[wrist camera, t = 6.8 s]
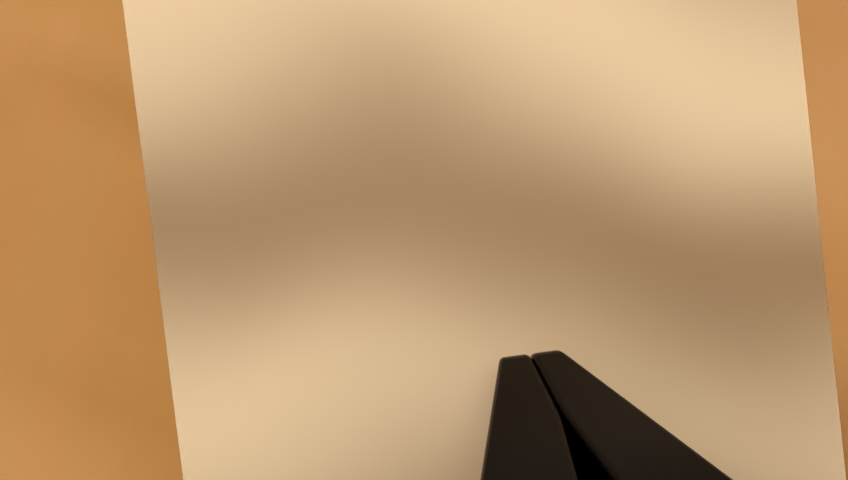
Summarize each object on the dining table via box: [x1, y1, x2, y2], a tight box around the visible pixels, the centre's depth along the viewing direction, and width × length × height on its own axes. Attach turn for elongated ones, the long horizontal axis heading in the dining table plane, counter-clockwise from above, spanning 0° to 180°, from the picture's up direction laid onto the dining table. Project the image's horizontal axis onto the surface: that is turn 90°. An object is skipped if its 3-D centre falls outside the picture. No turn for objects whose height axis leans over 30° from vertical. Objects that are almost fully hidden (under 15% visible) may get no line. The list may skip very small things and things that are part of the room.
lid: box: [122, 0, 846, 480], centre depth 10 cm, size 10×10×1 cm
